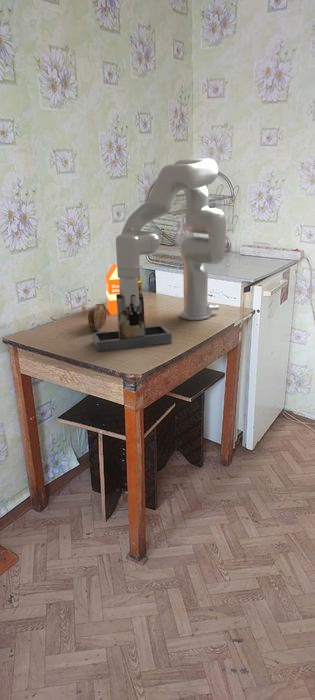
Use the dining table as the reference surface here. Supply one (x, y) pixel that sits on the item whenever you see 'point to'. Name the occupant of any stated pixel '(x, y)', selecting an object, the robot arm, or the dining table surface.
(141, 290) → the condiment
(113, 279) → the orange juice
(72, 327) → the dining table surface
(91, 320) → the tin
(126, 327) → the coffee box
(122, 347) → the dark grey tray
